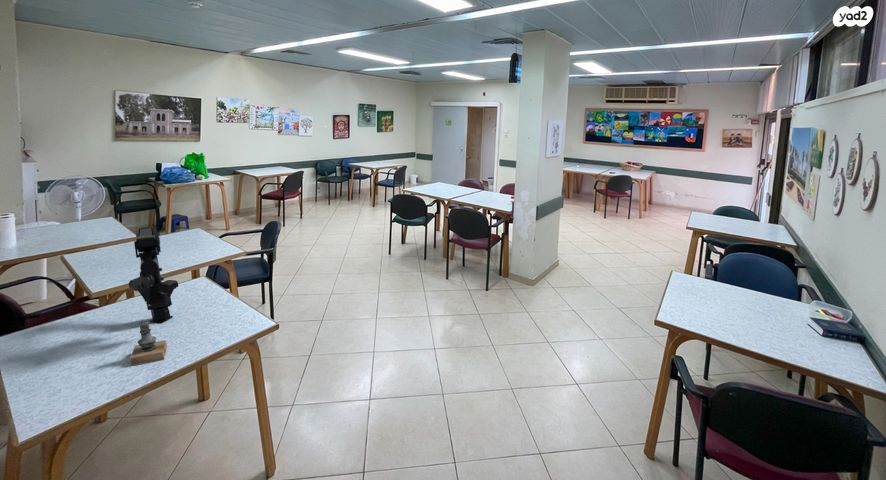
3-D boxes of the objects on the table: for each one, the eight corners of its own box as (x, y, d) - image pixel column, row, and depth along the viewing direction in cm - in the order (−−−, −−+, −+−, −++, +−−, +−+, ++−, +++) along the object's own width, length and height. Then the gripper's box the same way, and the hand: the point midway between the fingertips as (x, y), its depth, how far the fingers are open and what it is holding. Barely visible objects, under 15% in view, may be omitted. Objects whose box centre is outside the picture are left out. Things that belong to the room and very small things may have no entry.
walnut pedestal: (136, 352, 169) (135, 345, 168) (166, 347, 173) (165, 340, 172) (131, 365, 160) (130, 358, 159) (163, 359, 164) (162, 352, 163)
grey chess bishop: (143, 354, 162) (137, 324, 159) (136, 349, 165) (130, 320, 162) (160, 348, 166) (155, 318, 163) (153, 343, 170) (148, 314, 167)
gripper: (113, 272, 171) (120, 309, 176) (153, 276, 168) (160, 314, 172) (137, 263, 182) (144, 298, 186) (176, 266, 178) (182, 302, 182)
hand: (157, 303), depth 181 cm, fingers open, 9 cm apart
